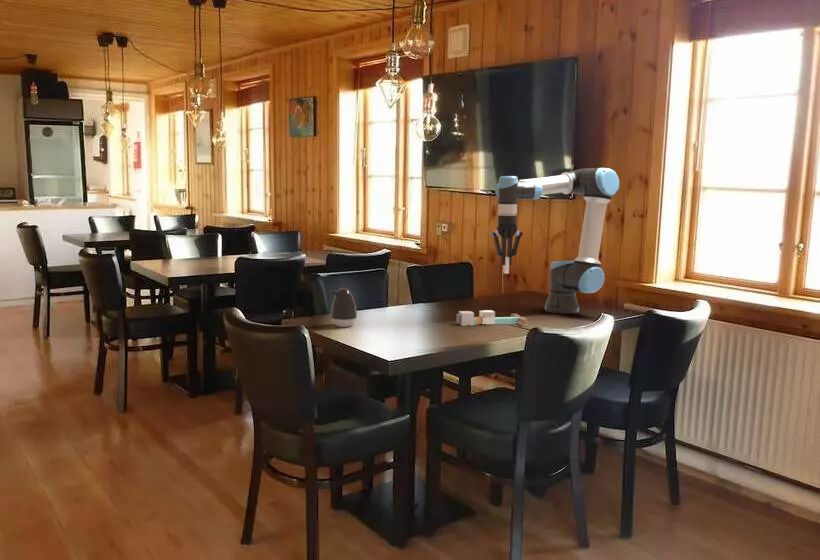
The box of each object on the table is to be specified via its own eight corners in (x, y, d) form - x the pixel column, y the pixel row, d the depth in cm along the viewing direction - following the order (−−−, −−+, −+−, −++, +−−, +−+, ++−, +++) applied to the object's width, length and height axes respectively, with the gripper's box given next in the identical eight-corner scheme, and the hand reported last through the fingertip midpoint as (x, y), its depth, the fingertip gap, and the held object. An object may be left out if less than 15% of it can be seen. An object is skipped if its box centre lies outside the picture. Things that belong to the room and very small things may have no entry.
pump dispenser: (326, 324, 283) (327, 286, 281) (351, 323, 287) (352, 285, 285) (334, 329, 273) (334, 290, 271) (360, 327, 277) (360, 289, 275)
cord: (519, 322, 295) (519, 310, 294) (523, 324, 290) (523, 312, 289) (455, 323, 289) (456, 311, 289) (459, 325, 285) (459, 313, 284)
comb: (515, 320, 299) (516, 313, 299) (527, 326, 286) (527, 319, 285) (510, 320, 299) (510, 313, 298) (521, 326, 285) (522, 319, 285)
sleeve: (490, 321, 292) (491, 310, 292) (494, 324, 287) (495, 312, 287) (479, 322, 291) (479, 310, 291) (482, 324, 286) (483, 312, 286)
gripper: (519, 214, 290) (518, 271, 293) (488, 214, 288) (487, 272, 291) (526, 215, 283) (524, 273, 286) (494, 215, 280) (493, 274, 284)
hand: (506, 273), depth 288 cm, fingers closed
